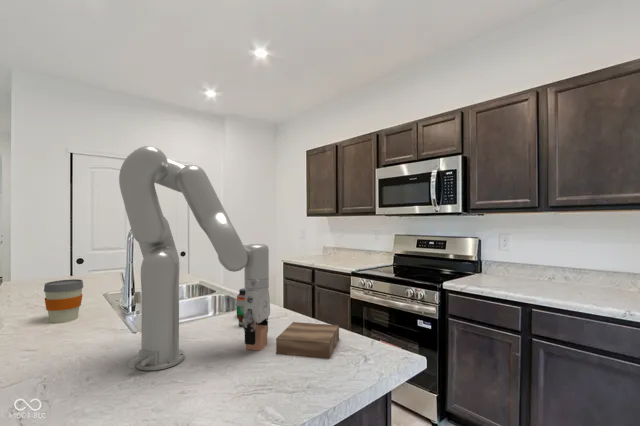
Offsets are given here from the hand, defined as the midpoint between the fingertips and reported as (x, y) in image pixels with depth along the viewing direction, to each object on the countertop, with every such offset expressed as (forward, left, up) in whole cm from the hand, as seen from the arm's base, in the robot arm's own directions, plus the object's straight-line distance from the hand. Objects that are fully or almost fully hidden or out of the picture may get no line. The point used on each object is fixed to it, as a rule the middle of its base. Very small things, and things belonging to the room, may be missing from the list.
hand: (256, 338), depth 104 cm
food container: (+20, +10, -3) cm, 23 cm away
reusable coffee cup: (+9, +87, -3) cm, 88 cm away
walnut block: (+4, -16, -3) cm, 17 cm away
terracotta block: (0, 0, -3) cm, 3 cm away
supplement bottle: (+28, +18, -3) cm, 33 cm away
